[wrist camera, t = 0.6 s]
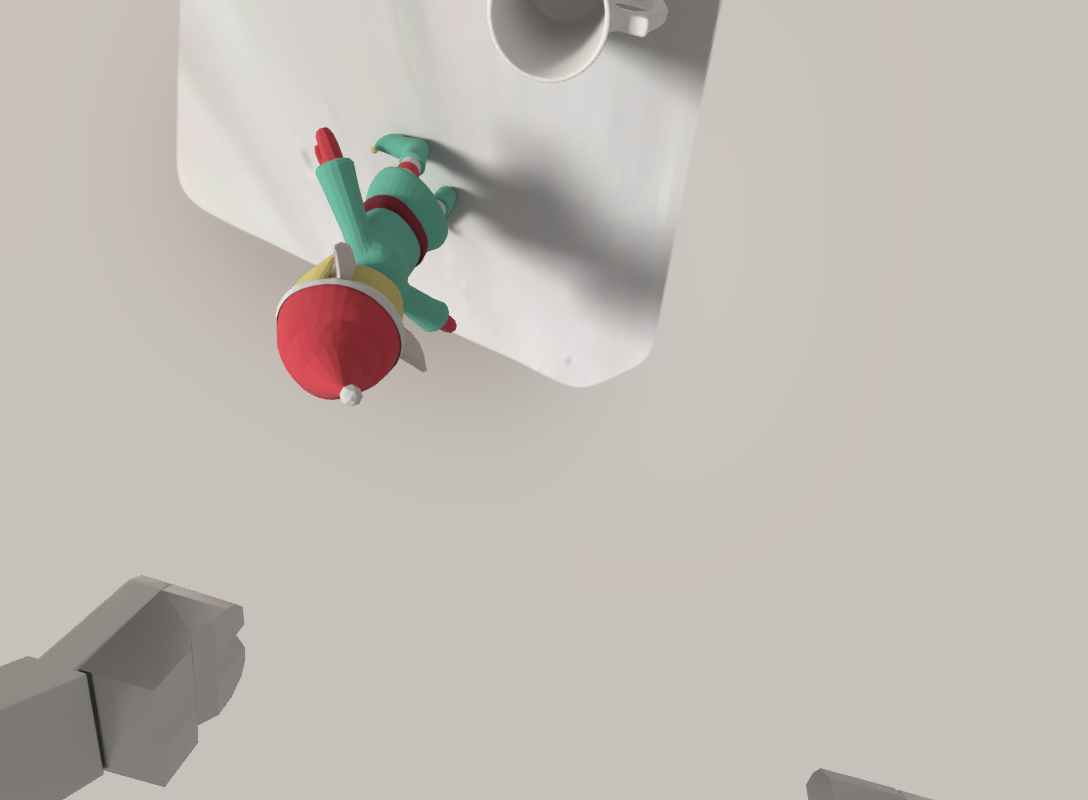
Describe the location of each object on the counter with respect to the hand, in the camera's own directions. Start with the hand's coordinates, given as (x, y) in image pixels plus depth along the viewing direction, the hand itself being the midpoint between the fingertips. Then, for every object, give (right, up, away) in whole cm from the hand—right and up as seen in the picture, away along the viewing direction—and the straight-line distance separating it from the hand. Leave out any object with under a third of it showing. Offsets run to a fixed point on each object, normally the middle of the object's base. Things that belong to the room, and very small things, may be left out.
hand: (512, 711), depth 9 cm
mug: (+4, +33, +36) cm, 49 cm away
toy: (-8, +24, +47) cm, 54 cm away
